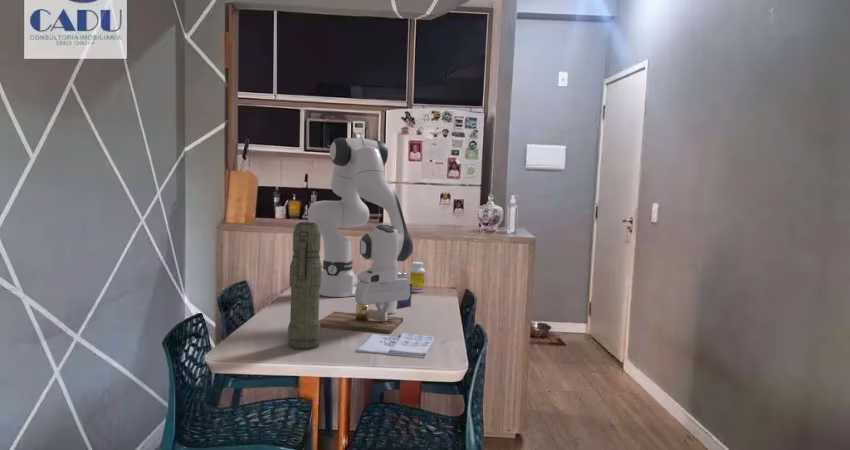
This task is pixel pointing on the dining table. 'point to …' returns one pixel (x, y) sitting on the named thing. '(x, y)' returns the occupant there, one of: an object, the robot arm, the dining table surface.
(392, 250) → the robot arm
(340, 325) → the dial board
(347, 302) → the dining table surface
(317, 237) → the thermos
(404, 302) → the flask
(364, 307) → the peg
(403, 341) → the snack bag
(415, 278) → the supplement bottle
